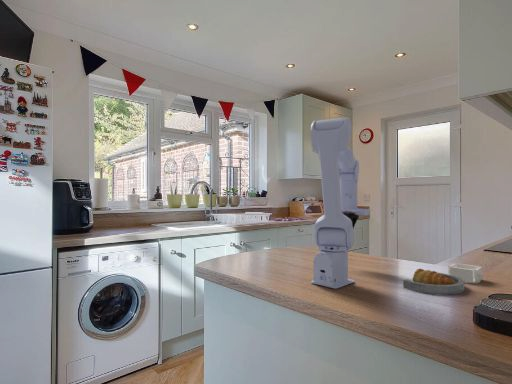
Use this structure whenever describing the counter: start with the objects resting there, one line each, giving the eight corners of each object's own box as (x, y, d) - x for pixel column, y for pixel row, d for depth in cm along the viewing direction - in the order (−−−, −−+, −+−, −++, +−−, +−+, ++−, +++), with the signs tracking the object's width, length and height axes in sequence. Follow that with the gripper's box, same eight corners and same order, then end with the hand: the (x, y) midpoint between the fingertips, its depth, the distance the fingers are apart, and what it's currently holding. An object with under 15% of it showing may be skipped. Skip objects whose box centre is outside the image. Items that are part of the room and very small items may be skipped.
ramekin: (476, 285, 85) (476, 270, 85) (447, 280, 90) (447, 266, 90) (483, 280, 90) (483, 266, 90) (454, 275, 95) (454, 262, 95)
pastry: (458, 287, 84) (458, 272, 84) (447, 292, 80) (447, 277, 80) (421, 279, 91) (421, 266, 91) (410, 284, 87) (409, 270, 87)
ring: (454, 299, 74) (453, 290, 74) (401, 288, 82) (401, 280, 82) (472, 285, 84) (471, 277, 84) (424, 277, 93) (424, 270, 93)
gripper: (374, 195, 105) (375, 237, 105) (336, 195, 115) (336, 233, 115) (363, 195, 100) (364, 239, 100) (324, 195, 111) (324, 235, 111)
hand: (348, 236), depth 107 cm, fingers closed
